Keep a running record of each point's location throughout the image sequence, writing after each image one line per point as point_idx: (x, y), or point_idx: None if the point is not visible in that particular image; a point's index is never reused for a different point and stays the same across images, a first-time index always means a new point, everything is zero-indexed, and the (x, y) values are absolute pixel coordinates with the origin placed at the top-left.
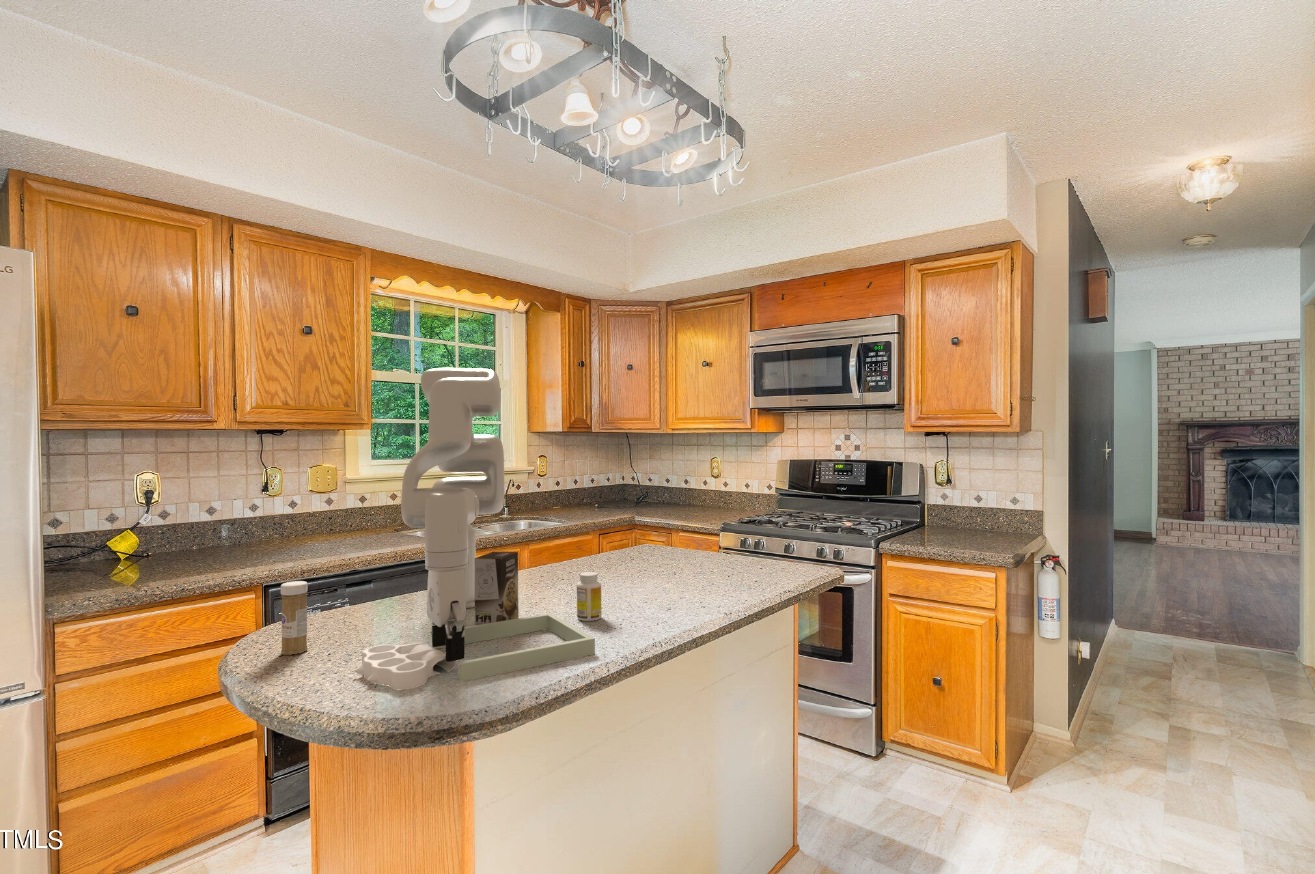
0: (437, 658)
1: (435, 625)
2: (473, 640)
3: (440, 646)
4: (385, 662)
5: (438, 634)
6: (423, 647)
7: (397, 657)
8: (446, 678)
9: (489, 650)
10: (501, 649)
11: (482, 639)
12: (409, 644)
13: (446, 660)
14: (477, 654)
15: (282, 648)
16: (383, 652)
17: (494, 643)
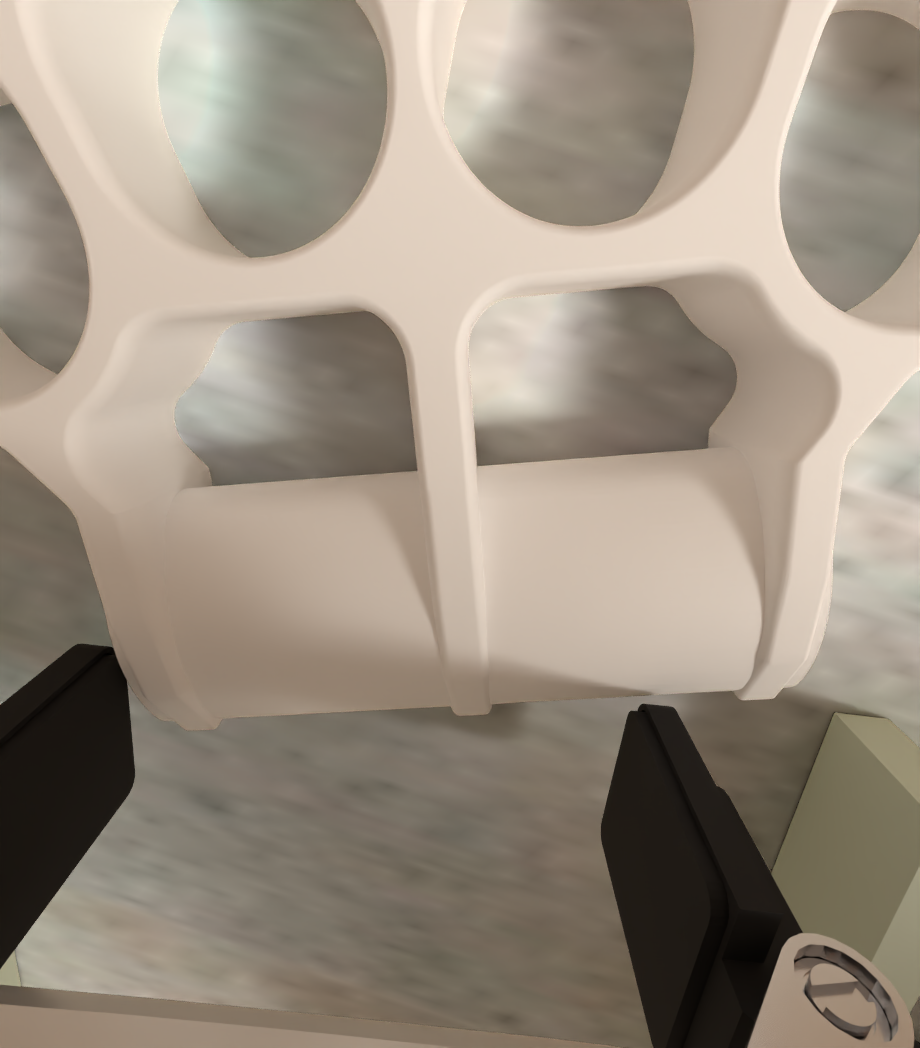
0: (100, 589)
1: (743, 948)
2: None
3: (820, 776)
4: (370, 3)
5: (657, 849)
6: (623, 610)
7: (384, 196)
8: (34, 548)
9: (475, 968)
10: (440, 1019)
11: None
12: (814, 511)
13: (78, 646)
14: (448, 891)
15: None
16: (763, 82)
17: (597, 1036)
